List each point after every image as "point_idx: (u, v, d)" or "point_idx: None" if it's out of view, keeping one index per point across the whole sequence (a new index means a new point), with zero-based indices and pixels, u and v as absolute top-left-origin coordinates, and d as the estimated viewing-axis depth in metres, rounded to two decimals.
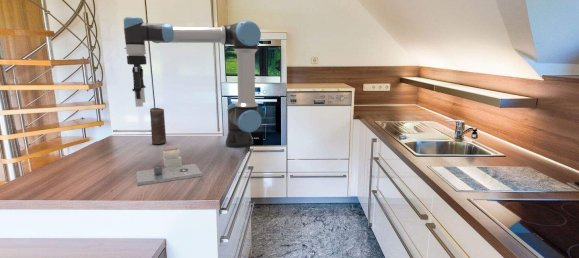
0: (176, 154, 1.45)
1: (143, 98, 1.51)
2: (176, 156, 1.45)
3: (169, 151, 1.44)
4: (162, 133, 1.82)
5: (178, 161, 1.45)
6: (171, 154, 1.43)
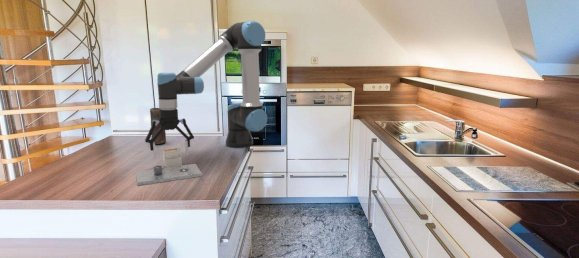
0: (176, 154, 1.45)
1: (186, 150, 1.48)
2: (176, 156, 1.45)
3: (169, 151, 1.44)
4: (162, 133, 1.82)
5: (178, 161, 1.45)
6: (171, 154, 1.43)
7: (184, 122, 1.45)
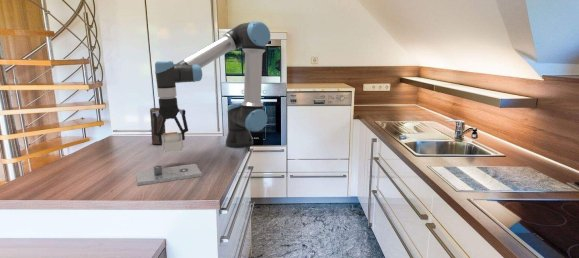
0: (176, 138, 1.43)
1: None
2: (176, 140, 1.44)
3: (169, 135, 1.43)
4: (162, 133, 1.82)
5: (178, 145, 1.44)
6: (171, 138, 1.42)
7: (183, 113, 1.45)
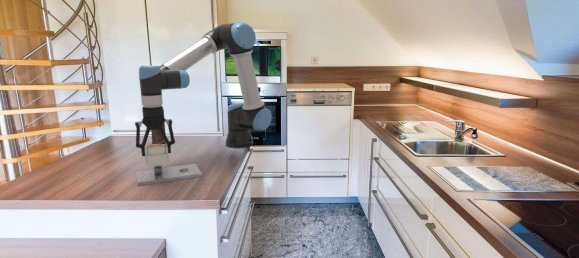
0: (160, 151, 1.29)
1: None
2: (161, 153, 1.29)
3: (153, 147, 1.29)
4: None
5: (163, 158, 1.30)
6: (155, 150, 1.28)
7: (170, 123, 1.30)
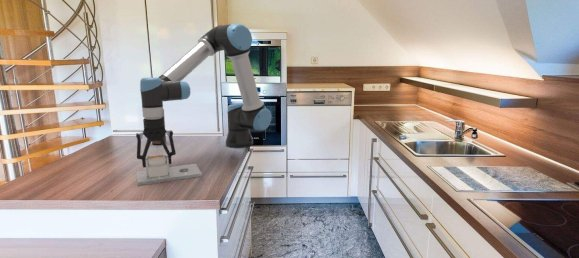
0: (161, 162, 1.30)
1: None
2: (161, 164, 1.30)
3: (154, 158, 1.30)
4: None
5: (164, 169, 1.31)
6: (156, 162, 1.29)
7: (171, 135, 1.31)
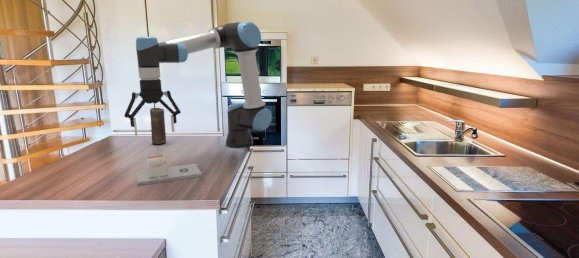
0: (161, 162, 1.30)
1: (172, 127, 1.31)
2: (161, 164, 1.30)
3: (153, 158, 1.30)
4: (162, 133, 1.82)
5: (164, 169, 1.31)
6: (156, 162, 1.29)
7: (169, 94, 1.28)
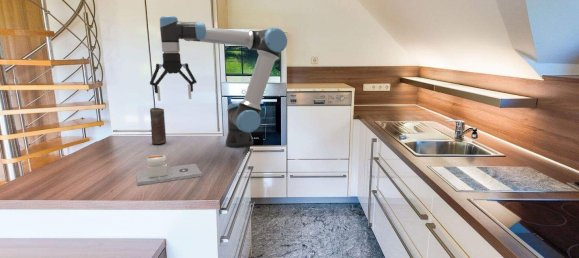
0: (161, 162, 1.30)
1: (189, 94, 1.54)
2: (161, 164, 1.30)
3: (153, 158, 1.30)
4: (162, 133, 1.82)
5: (164, 169, 1.31)
6: (156, 162, 1.29)
7: (187, 66, 1.51)
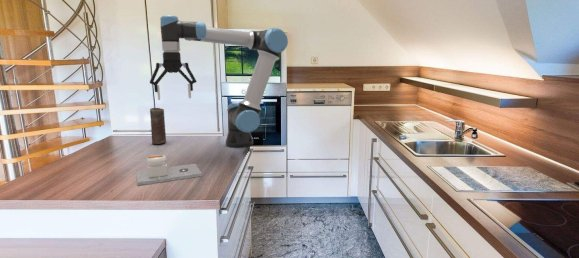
0: (161, 162, 1.30)
1: (189, 94, 1.54)
2: (161, 164, 1.30)
3: (153, 158, 1.30)
4: (162, 133, 1.82)
5: (164, 169, 1.31)
6: (156, 162, 1.29)
7: (187, 65, 1.51)
